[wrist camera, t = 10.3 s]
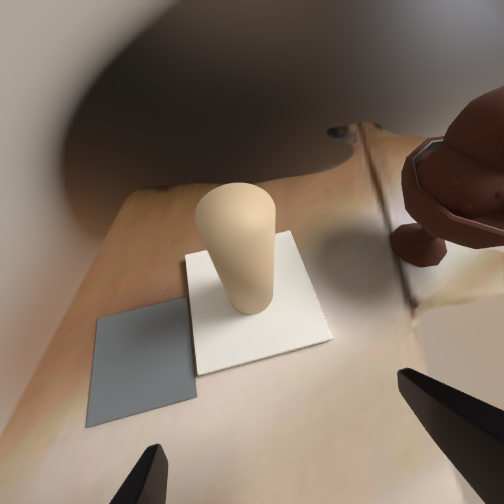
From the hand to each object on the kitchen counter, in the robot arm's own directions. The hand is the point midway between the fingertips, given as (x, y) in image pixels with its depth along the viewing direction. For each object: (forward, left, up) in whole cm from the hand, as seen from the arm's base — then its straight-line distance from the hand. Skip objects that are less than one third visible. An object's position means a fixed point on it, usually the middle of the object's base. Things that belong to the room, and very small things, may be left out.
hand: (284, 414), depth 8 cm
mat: (+6, +11, -12) cm, 18 cm away
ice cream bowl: (+10, -19, -13) cm, 25 cm away
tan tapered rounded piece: (+9, 0, -11) cm, 15 cm away
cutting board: (+9, 0, -12) cm, 15 cm away
